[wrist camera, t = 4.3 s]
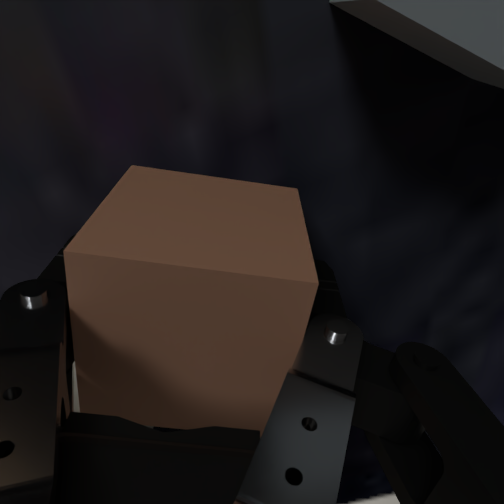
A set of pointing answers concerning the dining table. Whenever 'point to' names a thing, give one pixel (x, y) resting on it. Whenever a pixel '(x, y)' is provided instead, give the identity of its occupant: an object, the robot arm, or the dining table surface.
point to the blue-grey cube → (443, 31)
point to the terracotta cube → (189, 299)
